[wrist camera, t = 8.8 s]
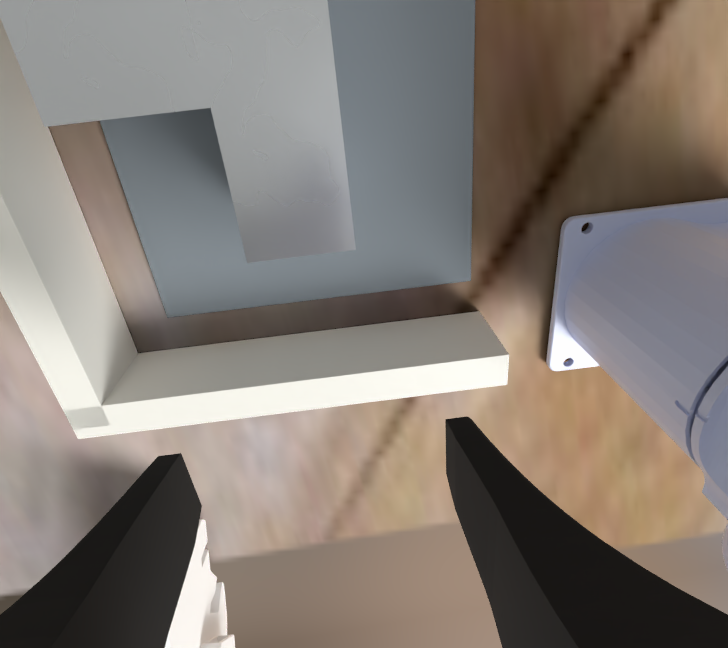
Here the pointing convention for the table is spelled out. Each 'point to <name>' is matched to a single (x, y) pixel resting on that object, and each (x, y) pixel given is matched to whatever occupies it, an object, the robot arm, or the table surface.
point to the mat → (363, 161)
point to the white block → (200, 604)
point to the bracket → (209, 97)
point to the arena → (190, 364)
